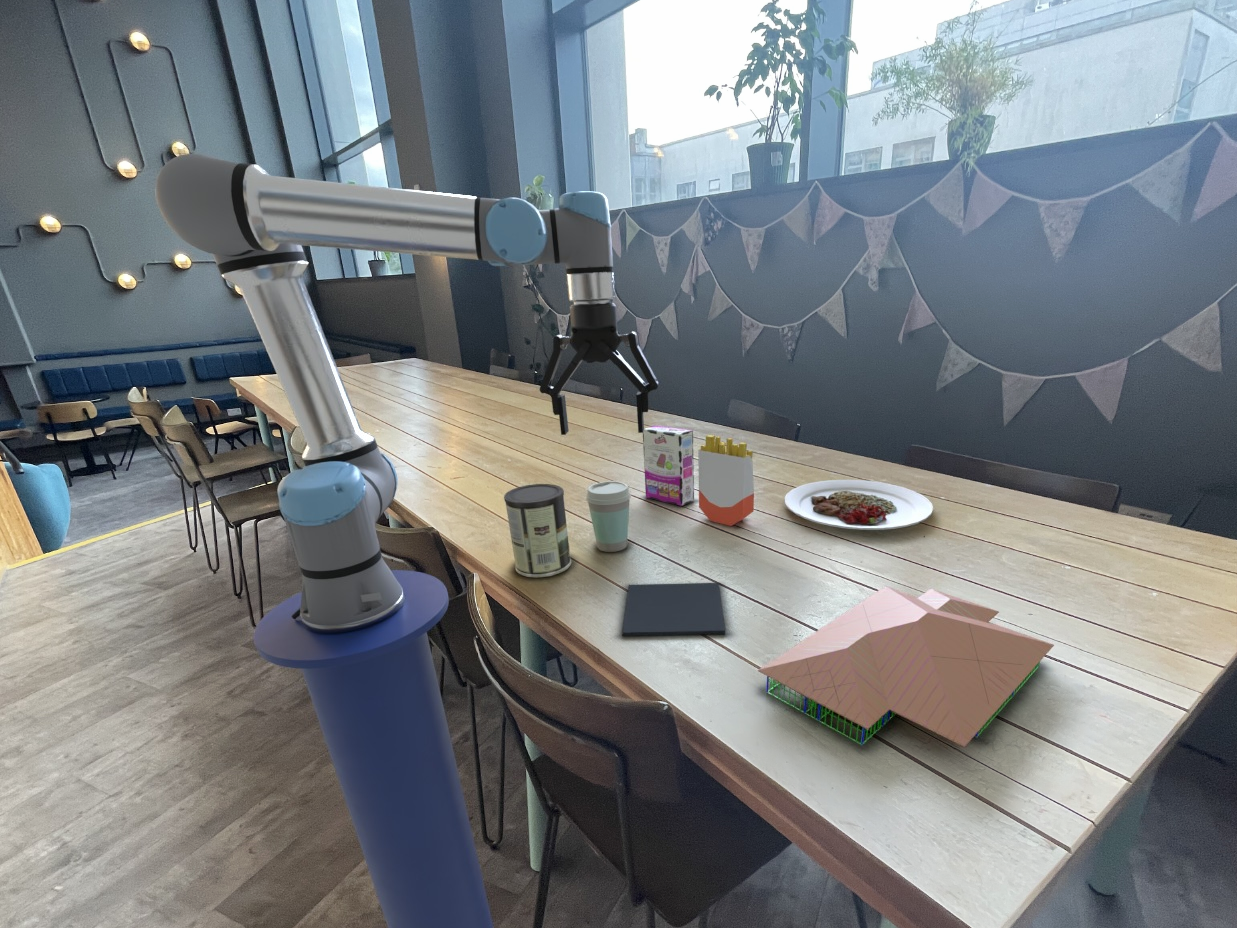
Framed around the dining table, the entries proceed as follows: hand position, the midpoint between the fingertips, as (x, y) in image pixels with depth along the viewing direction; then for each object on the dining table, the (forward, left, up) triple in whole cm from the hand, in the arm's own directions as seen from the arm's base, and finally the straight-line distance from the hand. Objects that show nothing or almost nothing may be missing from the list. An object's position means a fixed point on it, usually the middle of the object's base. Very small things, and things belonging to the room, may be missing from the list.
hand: (602, 432), depth 108 cm
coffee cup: (0, +2, -23) cm, 23 cm away
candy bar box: (+11, +28, -23) cm, 38 cm away
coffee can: (-12, -6, -23) cm, 27 cm away
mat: (+12, -23, -23) cm, 35 cm away
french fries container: (+23, +14, -23) cm, 35 cm away
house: (+42, -41, -23) cm, 63 cm away
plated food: (+51, +18, -23) cm, 59 cm away
